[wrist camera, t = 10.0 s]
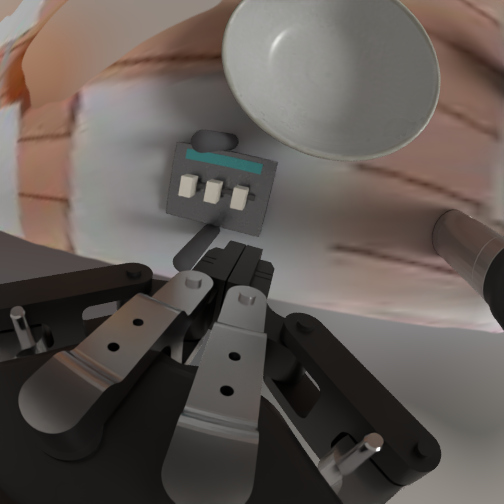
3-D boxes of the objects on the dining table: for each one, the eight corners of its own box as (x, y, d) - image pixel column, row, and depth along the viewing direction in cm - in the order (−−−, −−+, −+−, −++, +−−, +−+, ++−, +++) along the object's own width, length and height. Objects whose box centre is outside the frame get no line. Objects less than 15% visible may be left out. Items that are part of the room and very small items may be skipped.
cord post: (221, 224, 46) (193, 256, 33) (218, 238, 47) (190, 275, 34) (206, 220, 46) (173, 251, 33) (204, 234, 47) (172, 269, 34)
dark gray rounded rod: (239, 135, 40) (216, 131, 27) (236, 151, 41) (211, 155, 28) (224, 132, 40) (193, 128, 27) (220, 147, 41) (189, 150, 29)
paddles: (249, 187, 40) (246, 190, 38) (244, 206, 41) (241, 210, 39) (187, 173, 41) (181, 175, 38) (184, 192, 42) (178, 195, 40)
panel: (277, 162, 41) (277, 163, 38) (260, 233, 46) (258, 238, 43) (181, 142, 42) (175, 142, 39) (170, 210, 46) (163, 214, 44)
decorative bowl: (250, 162, 42) (235, 170, 31) (231, 14, 32) (211, -19, 21) (413, 156, 37) (450, 163, 26) (389, 11, 27) (413, -19, 16)
